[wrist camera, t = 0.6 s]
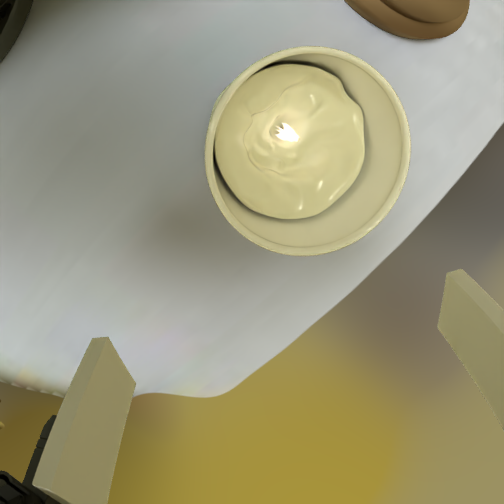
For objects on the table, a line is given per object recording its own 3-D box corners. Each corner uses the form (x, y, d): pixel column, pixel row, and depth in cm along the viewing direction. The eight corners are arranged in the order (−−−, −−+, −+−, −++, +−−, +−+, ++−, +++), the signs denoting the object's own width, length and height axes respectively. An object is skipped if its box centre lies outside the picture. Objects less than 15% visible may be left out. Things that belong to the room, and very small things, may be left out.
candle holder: (267, 39, 20) (331, 4, 10) (344, 129, 24) (438, 168, 14) (173, 125, 22) (154, 159, 12) (259, 206, 27) (304, 290, 16)
